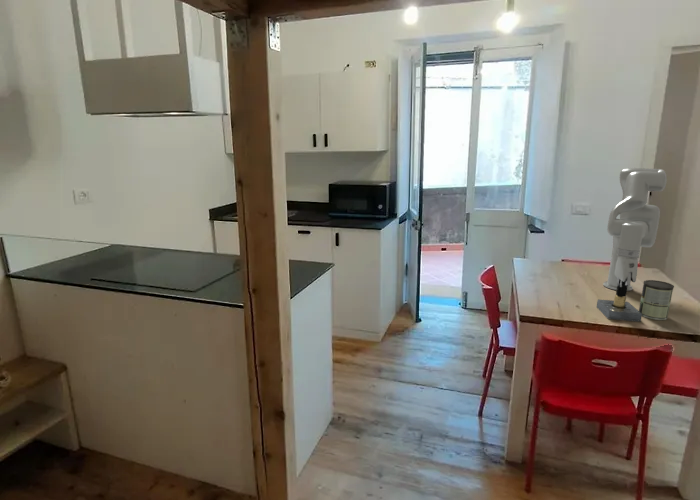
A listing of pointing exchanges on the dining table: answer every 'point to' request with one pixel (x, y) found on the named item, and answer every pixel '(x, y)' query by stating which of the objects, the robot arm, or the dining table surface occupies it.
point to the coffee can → (656, 299)
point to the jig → (619, 311)
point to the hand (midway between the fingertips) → (620, 295)
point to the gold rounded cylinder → (619, 301)
